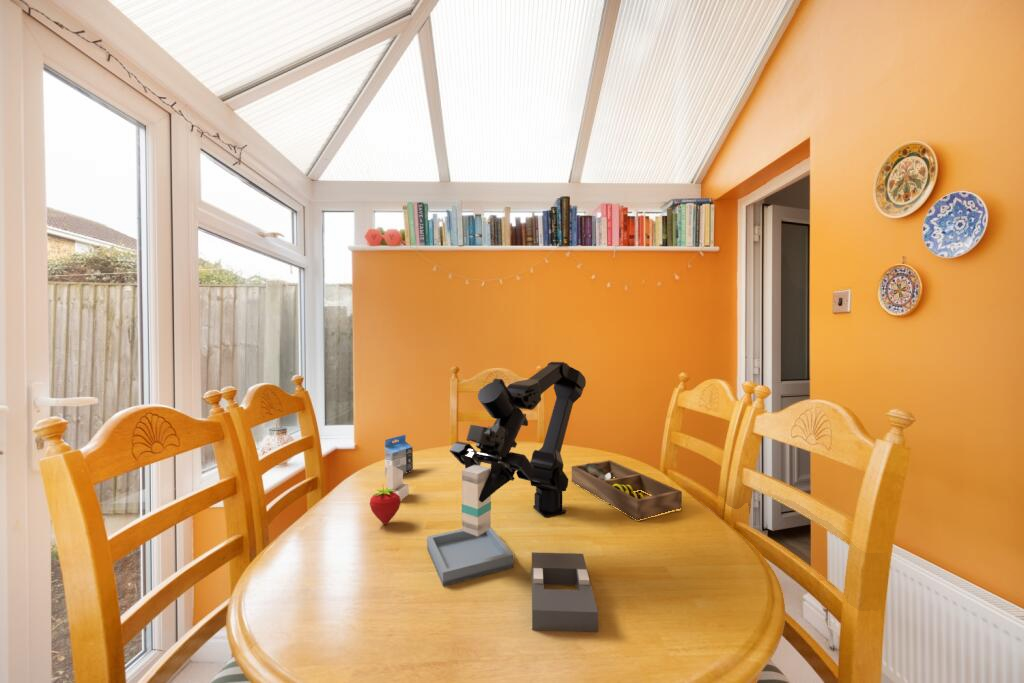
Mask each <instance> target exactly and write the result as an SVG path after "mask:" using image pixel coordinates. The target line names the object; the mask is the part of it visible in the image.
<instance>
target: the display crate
mask: <svg viewBox="0 0 1024 683" xmlns="http://www.w3.org/2000/svg"><path fill="white" fill-rule="evenodd" d="M591 463H592V464H594V465H595V466H597V467H598V468H602V469H603V471H604V473H605V474H604V475H606V474H607V473H610V472H612V470H613V476H614V477H615V478H612V479H608V480H603V481H602V480H600V479H598V477H596V476H593V475H591V474H589V473H587V472H586V470H584V467H585V465H586V464H587V463H584V464H579V465H578V464H577V465H572V466H571V483H572V482H574V483H575V484H574V483H573V484H574V485H576V484H577V485H579V486H580V487H582V488H583V489H582V488H581V489H582V490H584V489H585V490H587V491H589V492H590V493H592V494H594V495H596V496H597V497H599V498H600V499H602V500H604V501H605V502H607V503H609V504H611V505H612V506H614V507H616V508H618V509H619V510H621V511H622V512H624V513H626V514H627V515H629V516H631V517H633V518H634V519H636V520H640V519H644V518H648V517H651V516H655V515H658V514H661V513H665V512H668V511H672V510H676V509H680V508H683V507H682V506H683V505H682V504H683V501H682V499H683V496H682V495H683V494H682V493H683V491H682V490H679V489H678V488H676V487H672V486H670V485H668V484H666V483H663V482H661V481H659V480H657V479H654V478H652V477H650V476H647V475H645V474H642V473H641V472H638V471H636V470H633V469H631V468H629V467H627V466H624V465H622V464H620V463H617V462H615V461H613V460H611V459H610V460H609V459H608V460H602V461H597V462H591ZM613 484H619V485H630V486H631V487H632V489H633V491H637V490H642V491H644V492H646V493H648V494H651V495H652V496H650V497H649V496H645V497H644V498H641V499H636V498H634V497H632V496H631V495H629V494H627V493H625V492H623V491H621V490H619V489H617V488H615V487H613V486H612V485H613ZM577 485H576V486H577ZM579 486H578V487H579ZM580 487H579V488H580ZM585 490H584V491H585ZM587 491H586V492H587ZM589 492H588V493H589ZM590 493H589V494H590ZM592 494H591V495H592ZM594 495H593V496H594ZM597 497H596V498H597ZM599 498H598V499H599ZM600 499H599V500H600ZM602 500H601V501H602ZM604 501H603V502H604ZM605 502H604V503H605ZM607 503H606V504H607ZM609 504H608V505H609ZM612 506H611V507H612ZM614 507H613V508H614ZM619 510H618V511H619ZM622 512H621V513H622ZM624 513H623V514H624ZM627 515H626V516H627ZM629 516H628V517H629ZM634 519H633V520H634Z"/></svg>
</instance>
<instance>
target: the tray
mask: <svg viewBox="0 0 1024 683" xmlns="http://www.w3.org/2000/svg"><path fill="white" fill-rule="evenodd" d="M426 549H427V552H428V554H429V556H430V558H431V561H432V563H433V565H434V569H435V571H436V573H437V575H438V578H439V579H440V580H439V581H440V582H441V585H442V586H443V587H446V586H449V585H453V584H457V583H460V582H465V581H469V580H472V579H475V578H480V577H483V576H486V575H491V574H494V573H498V572H502V571H505V570H508V569H512V568H514V564H515V563H514V553H512V551H511V549H510V548H509V547H508V546H507V544H506V543H505V542H504V541H503V540H502V538H501V537H500V536H499V535H498V534H497V532H496V531H495V530H494V529H493V528H492V527H491V528H490V529H489V530H487V531H486V532H484V533H482V534H481V535H479V536H475V535H472V534H470V533H467V532H464V531H462V528H460V529H457V530H451V531H448V532H446V531H445V532H442V533H438V534H434V535H428V536H426Z"/></svg>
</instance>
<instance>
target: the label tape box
mask: <svg viewBox="0 0 1024 683" xmlns="http://www.w3.org/2000/svg"><path fill="white" fill-rule="evenodd" d="M406 436H407V434H402V435H400V436H399V435H398V436H395V437H390V438H386V439H384V468H385V469H384V470H385V471H384V472H385V473H384V476H385V475H387V466H394V467H396V468H398V469H400V470H402V471H403V473H406V472H409V471H411V472H413V471H414V468H413V467H414V461H413V460H414V457H413V446H412V445H410V443H408V442H407V441H406ZM412 470H413V471H412ZM409 473H410V472H409ZM406 474H407V473H406Z"/></svg>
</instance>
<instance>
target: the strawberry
mask: <svg viewBox="0 0 1024 683" xmlns="http://www.w3.org/2000/svg"><path fill="white" fill-rule="evenodd" d="M382 486H384V484H382ZM392 490H394V489H388V488H387V487H386V488H384V487H382V489H375V491H377V493H374V494H372V496H371V497H370V500H369V506H370V511H371V512H372V514H374V516H375V517H376V518H377V519H378V520H379V521H380V522H381V524H383V525H387V524H389V523H390V521H391V520H392V519H393V518H394V516H395V515H396V514H397V512H398V511H399V509H400V506H401V503H402V500H400V496H399V495H397V494H396V493H394V492H396V491H392Z"/></svg>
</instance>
